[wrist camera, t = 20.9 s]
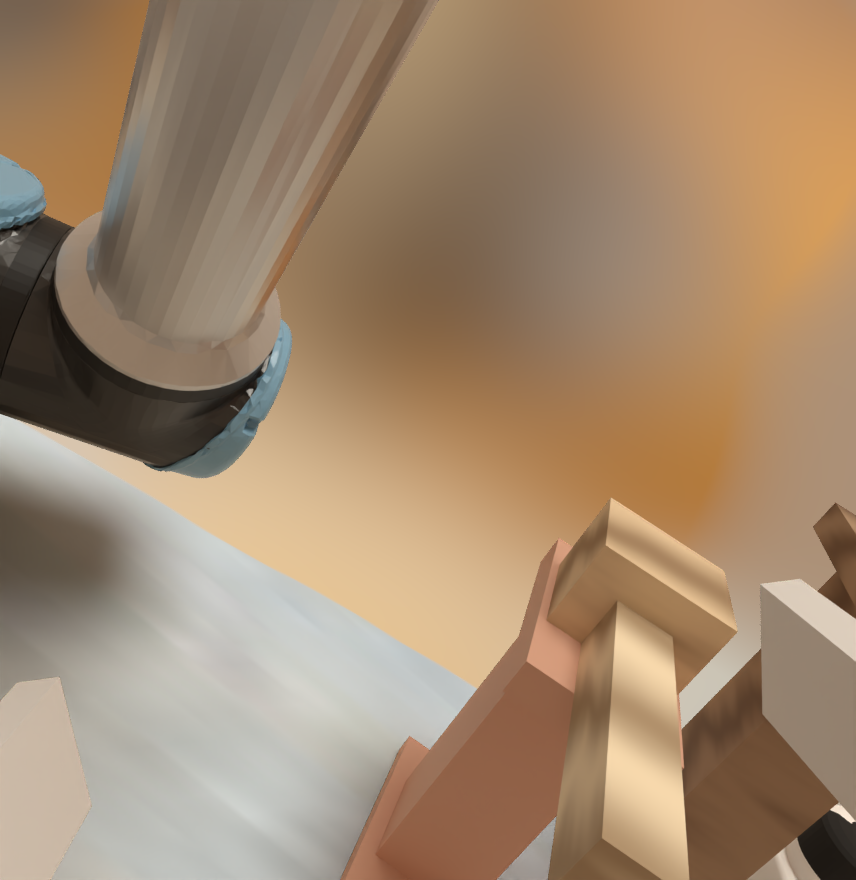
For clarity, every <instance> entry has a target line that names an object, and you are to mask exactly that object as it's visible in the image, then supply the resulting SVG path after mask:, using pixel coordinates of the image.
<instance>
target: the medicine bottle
mask: <svg viewBox="0 0 856 880" xmlns="http://www.w3.org/2000/svg"><path fill="white" fill-rule="evenodd" d="M747 880H856V821H855V820H854V819H853V818H852V817H851V815H850V814H849V813H848V812H847V811H846V810H845V809H844V807H842V806H839V805H835V806H834V807H833V808H832V809H830V810H829V811H828V812H827V813H826V814H824V815H823V816H822V817H821V818H820V819H818V820H817V821H816V822H815V823H814V824H812V825H811V826H810V827H809V828H808V829H807V830H805V831H804V832H803V833H802V834H801V835H799V836H798V837H797V838H796V839H795V840H793V841H792V842H791V843H790V844H789V845H787V846H786V847H785V848H784V849H783V850H782V851H780V852H779V853H778V854H777V855H776V856H774V857H773V858H772V859H771V860H770V861H768V862H767V863H766V864H765V865H764V866H762V867H761V868H760V869H759V870H758V871H757V872H755V873H754V874H753V875H752V876H751V877H749V878H748V879H747Z"/></svg>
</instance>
